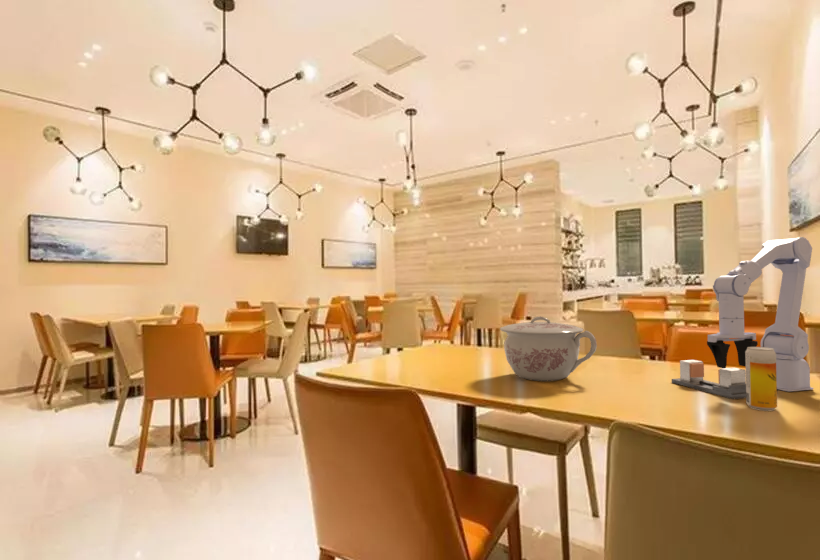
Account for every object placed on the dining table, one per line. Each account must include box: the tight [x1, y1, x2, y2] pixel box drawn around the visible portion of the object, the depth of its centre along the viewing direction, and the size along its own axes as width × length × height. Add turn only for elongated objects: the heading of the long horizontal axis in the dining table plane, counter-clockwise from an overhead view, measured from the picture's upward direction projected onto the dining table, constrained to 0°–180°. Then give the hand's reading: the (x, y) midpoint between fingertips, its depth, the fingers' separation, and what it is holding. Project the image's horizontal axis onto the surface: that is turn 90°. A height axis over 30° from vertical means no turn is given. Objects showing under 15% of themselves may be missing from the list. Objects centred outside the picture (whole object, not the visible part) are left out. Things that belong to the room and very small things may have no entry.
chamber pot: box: [499, 316, 598, 382], centre depth 153 cm, size 28×28×21 cm
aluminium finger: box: [717, 367, 746, 389], centre depth 126 cm, size 4×5×6 cm
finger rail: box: [671, 359, 746, 400], centre depth 133 cm, size 21×8×7 cm, turn 13°
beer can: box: [745, 346, 778, 412], centre depth 113 cm, size 6×6×15 cm
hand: (732, 366), depth 126 cm, fingers open, 7 cm apart
